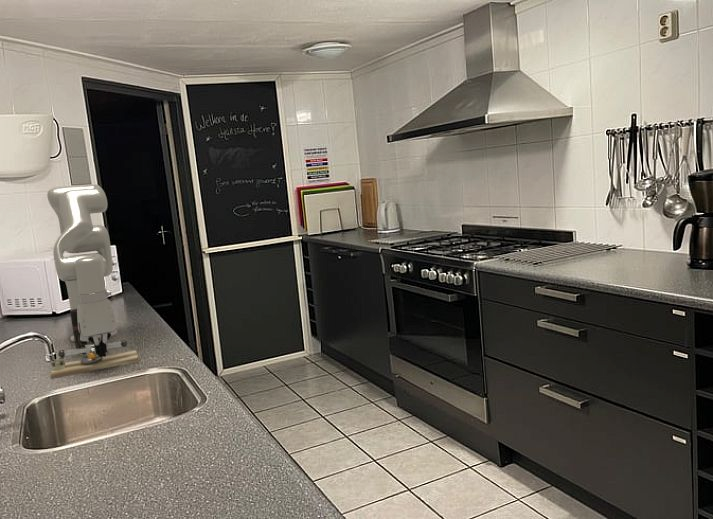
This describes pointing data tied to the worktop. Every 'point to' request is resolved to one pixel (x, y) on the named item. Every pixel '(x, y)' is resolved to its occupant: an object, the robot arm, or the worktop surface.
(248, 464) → the worktop surface
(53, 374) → the board
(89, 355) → the capstan
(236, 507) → the worktop surface
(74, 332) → the deodorant
